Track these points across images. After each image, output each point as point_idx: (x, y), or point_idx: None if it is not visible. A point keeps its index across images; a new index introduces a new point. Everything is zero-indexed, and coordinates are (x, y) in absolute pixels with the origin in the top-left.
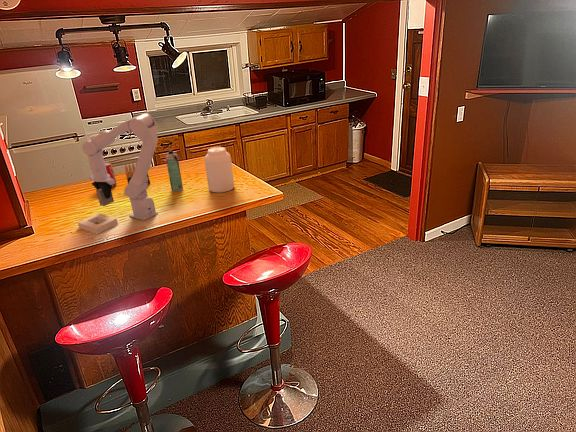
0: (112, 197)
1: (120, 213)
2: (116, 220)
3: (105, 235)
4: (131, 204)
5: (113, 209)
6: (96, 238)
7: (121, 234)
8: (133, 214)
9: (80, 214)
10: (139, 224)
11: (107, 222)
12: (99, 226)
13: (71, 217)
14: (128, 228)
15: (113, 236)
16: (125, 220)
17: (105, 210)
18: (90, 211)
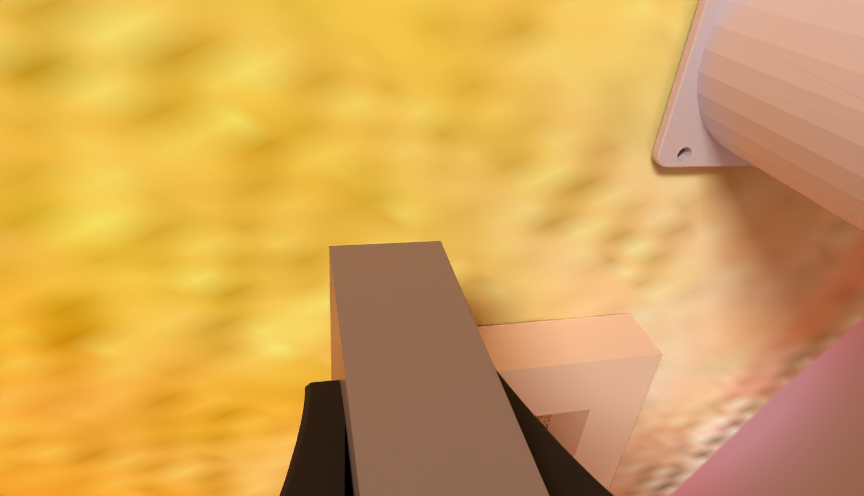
0: (463, 304)
1: (477, 150)
2: (649, 344)
3: (652, 442)
4: (860, 229)
5: (261, 107)
6: (617, 484)
7: (762, 384)
8: (721, 143)
9: (4, 397)
10: (841, 225)
11: (627, 428)
12: (607, 484)
13: (9, 471)
14: (772, 313)
15: (719, 422)
16: (660, 238)
17: (180, 185)
18: (10, 300)
